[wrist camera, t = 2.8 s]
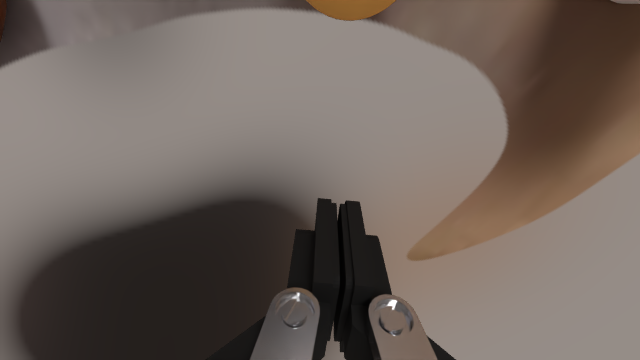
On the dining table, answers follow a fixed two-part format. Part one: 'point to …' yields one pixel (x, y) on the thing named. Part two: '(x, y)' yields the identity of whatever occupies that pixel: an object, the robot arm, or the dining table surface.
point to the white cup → (627, 1)
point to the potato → (2, 16)
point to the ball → (350, 8)
